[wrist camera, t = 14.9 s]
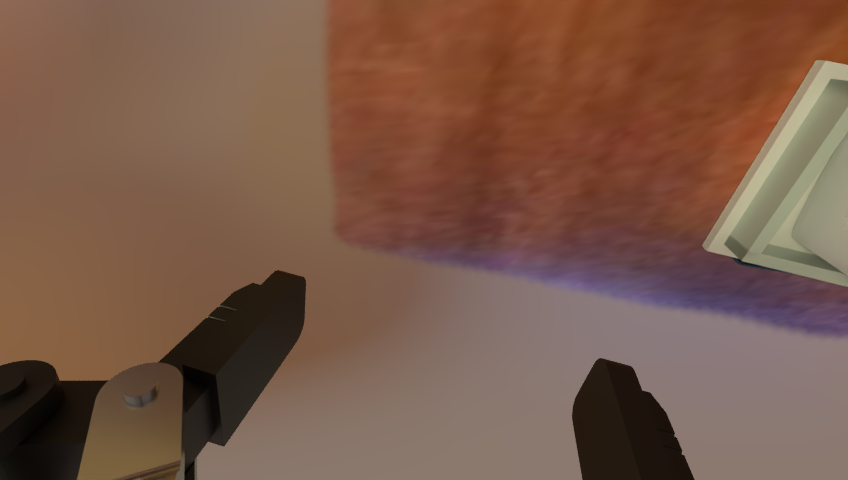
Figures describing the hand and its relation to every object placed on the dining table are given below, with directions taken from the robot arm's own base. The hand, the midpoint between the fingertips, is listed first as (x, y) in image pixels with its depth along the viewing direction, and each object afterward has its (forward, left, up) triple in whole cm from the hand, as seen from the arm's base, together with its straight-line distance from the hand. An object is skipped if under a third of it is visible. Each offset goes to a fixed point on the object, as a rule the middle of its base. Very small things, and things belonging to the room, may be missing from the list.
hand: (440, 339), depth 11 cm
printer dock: (-2, +28, -28) cm, 40 cm away
